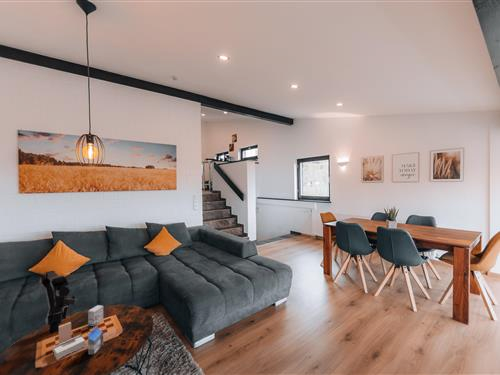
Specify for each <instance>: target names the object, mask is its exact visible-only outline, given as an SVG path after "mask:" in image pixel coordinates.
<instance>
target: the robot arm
mask: <svg viewBox="0 0 500 375" xmlns="http://www.w3.org/2000/svg"><path fill="white" fill-rule="evenodd" d="M39 285H40V286H41V288H42V289H43V290H44V291H45V295H46V300H47V306H48V312H47V313H46V314H47V315H46V317H45V319H44V320H45V324H46V325H47V326H48V329H47V330H46V332H48V333H49V334H50V335H51V334H54V333H56V332H59V327H58V326H61V325H60V324H61V323H62V321H63V320H66V319H67V314H68V310H69V308H70V307H71V306H73V305H76V304H77V301H78V298H77V297H76V295H73V296H71V297H68V295H69V294H70V292H71V290H70V288H69V287H67V286H69V281H68V279H67V277H66V276H64V275H58V274H57V273H56V272H55V270H50V271H46V272H44V274H42V276H41V277H40V278H39Z"/></svg>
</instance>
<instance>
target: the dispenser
mask: <svg viewBox="0 0 500 375" xmlns="http://www.w3.org/2000/svg"><path fill="white" fill-rule="evenodd" d="M84 346H85V347H86V340H85V338H83V336H82V335H81V334H79V335H77V336H74V337H72V339H70V340H68V341H65V342H63V343H61V344H59V343H58V344H57V345H54V346H52V353H53V352H54V354H55V356H56V358H55V360H56V361H58V360H60V358H61V359H62V357H63V356H65V355H67V354H69V353H71V354H73V353H75V352H77V351H79V350H81V349H83V348H85V347H84ZM82 347H83V348H82ZM74 351H75V352H74ZM72 352H73V353H72ZM69 355H70V354H69ZM55 356H54V357H55ZM67 356H68V355H67ZM65 357H66V356H65ZM63 358H64V357H63Z"/></svg>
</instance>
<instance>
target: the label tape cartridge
mask: <svg viewBox="0 0 500 375" xmlns="http://www.w3.org/2000/svg"><path fill="white" fill-rule="evenodd" d="M87 340H88V342H87V344H88V346H87V350H88V351H87V352H88V355H89V356H90V355H95V354H96V353H97V352H98V351H100V349H101V347H103V346H104V331H101V330H100V329H98V325H97V326H96V327H94V328H93V329H92V330H91V331H90V332H89V333H88V334H87Z"/></svg>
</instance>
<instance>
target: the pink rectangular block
mask: <svg viewBox="0 0 500 375" xmlns="http://www.w3.org/2000/svg"><path fill="white" fill-rule="evenodd" d="M58 327H59V330H58V345H59V344H61V343H63V342H65V341H68V340H70V339H72V338H73V337H72V322H71V321H68V322H66V323H64V324H61V325H60V326H58Z"/></svg>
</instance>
